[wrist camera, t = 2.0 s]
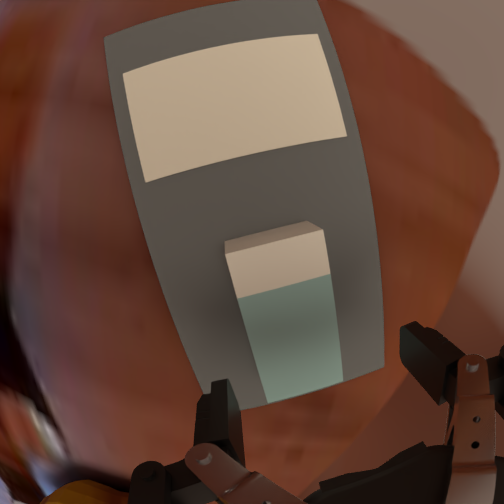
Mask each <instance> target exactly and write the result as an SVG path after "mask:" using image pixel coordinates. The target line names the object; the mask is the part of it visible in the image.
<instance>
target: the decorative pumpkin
mask: <svg viewBox="0 0 504 504" xmlns="http://www.w3.org/2000/svg"><path fill="white" fill-rule="evenodd" d="M128 496H129V493H127V492H120V491H118V490H115V489H113V488H111V487H109V486H106V485H103V484H100V483H97V482H95V481H92V480H89V479H87V480H79V481H74V482H71V483H68V484H66V485H64V486H62V487H60V488H59V489H57V490H55V491H54V492H53V493H52V494H50V495H49V496H47V497H45V498H44V499H43V500H42V502H41V503H40V504H127V503H128Z"/></svg>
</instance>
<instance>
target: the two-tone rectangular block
mask: <svg viewBox="0 0 504 504" xmlns="http://www.w3.org/2000/svg"><path fill="white" fill-rule="evenodd" d="M225 256H226V260H227V264H228V267H229V271H230V275H231V278H232V282H233V285H234V289H235V293H236V296H237V300H238V303H239V307H240V310H241V314H242V317H243V321H244V324H245V328H246V331H247V335H248V338H249V342H250V345H251V349H252V352H253V355H254V359H255V362H256V365H257V369H258V372H259V376H260V379H261V382H262V385H263V389H264V392H265V395H266V399H267V402H268V403H271V402H275V401H278V400H282V399H286V398H290V397H293V396H297V395H301V394H304V393H307V392H311V391H314V390H317V389H321V388H324V387H327V386H330V385H333V384H336V383H339V382H342V381H343V372H342V361H341V351H340V342H339V333H338V324H337V316H336V309H335V301H334V294H333V287H332V280H331V274H330V267H329V261H328V255H327V249H326V243H325V237H324V232H323V229H321V228H320V227H318V226H316V225H314V224H312V223H310V222H309V221H303V222H299V223H295V224H291V225H287V226H283V227H279V228H275V229H271V230H267V231H263V232H259V233H255V234H251V235H247V236H243V237H239V238H235V239H231V240H227V241H225Z"/></svg>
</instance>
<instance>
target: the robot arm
mask: <svg viewBox="0 0 504 504" xmlns="http://www.w3.org/2000/svg"><path fill="white" fill-rule="evenodd" d="M400 358H401V361H402V363H403V365H404V366H405V367H406V368H407V369H408V371H409V372H410V373H411V374H412V375H413V376H414V377H415V379H416V380H417V381H418V382H419V383H420V384H421V386H422V387H423V388H424V389H425V390H426V391H427V393H428V394H429V395H430V396H431V397H432V398H433V400H434V401H435V402H436V403H437V404H438V405H441V404H443V403H444V402H446V401H447V402H448V403H449V407H448V414H447V423H446V430H445V437H444V442H443V445H434V446H429V447H426V445H425V444H424V442H423V441H422V442H421V443H419V444H416V445H414V446H412V447H410V448H408V449H406V450H404V451H402V452H400V453H398V454H397V455H395V456H394V457H393V458H391V459H390V460H389V461H387V462H386V463H384V464H383V465H382V466H380V467H379V468H376V469H373V470H367V471H361V472H355V473H347V474H344V475H341V476H338V477H335V478H331V479H328V480H325V481H321V482H319V485H320V489H319V490H317V491H315V492H313V493H312V494H310V495H309V496H308V497H306V498H305V499H304V500H303V501H302V500H300V499H299V498H297V497H296V496H294V495H292V494H291V493H289V492H287V491H286V490H284V489H283V488H281V487H280V486H278V485H276V484H275V483H273V482H272V481H270V480H269V479H267V478H266V477H265V476H263V475H262V474H260V473H258V472H256V471H254V472H253V473H252V472H250V471H248V470H247V469H246V467H245V456H244V445H243V433H242V422H241V412H240V408H239V404H238V401H237V399H236V396H235V394H234V391H233V388H232V386H231V383H230V381H229V379H228V378H227V379H222V380H217V381H212V382H211V393H209V394H203V395H202V396H201V398H200V399H199V401H198V403H197V410H196V412H197V413H196V421H195V433H194V445H193V447H192V448H191V449H190V450H189V451H188V452H187V453H186V455H185V458H184V459H183V460H181V461H179V462H176V463H173V464H170V465H167V466H163V465H162V464H161V463H159V462H156V461H147V462H144V463H141V464H140V465H138V466H137V467H136V468H135V469H134V471H133V473H132V477H131V483H130V490H129V496H128V503H127V504H207V503H209V502H212V501H216V502H217V503H218V504H504V457H500V456H495V410H496V411H497V412H498V413H499V415H500V416H501V417H502V418H503V419H504V345H503V346H502V347H501V349H500V354H499V356H495V357H492V358H489V359H485V358H484V357H482V356H480V355H477V354H468V355H466V354H465V353H463V352H462V351H461V350H460V349H459V348H457V347H456V346H455V345H454V344H453V343H451V342H450V341H448V339H447V338H445V337H443V335H442V334H440V333H439V332H438V331H437V330H434V329H432V328H429V327H426V328H424V327H423V326H421V325H420V324H419V323H418V322H416V321H414V322H411V323H409V324H406V325H404V326H402V327H401V328H400Z"/></svg>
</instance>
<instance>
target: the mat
mask: <svg viewBox="0 0 504 504" xmlns="http://www.w3.org/2000/svg"><path fill="white" fill-rule="evenodd" d="M104 46H105V54H106V62H107V69H108V76H109V83H110V89H111V95H112V101H113V107H114V112H115V117H116V123H117V128H118V133H119V137H120V142H121V147H122V151H123V156H124V160H125V164H126V169H127V173H128V177H129V181H130V185H131V189H132V193H133V196H134V200H135V204H136V207H137V211H138V215H139V218H140V222H141V225H142V229H143V232H144V235H145V239H146V242H147V245H148V248H149V252H150V255H151V258H152V261H153V264H154V267H155V270H156V273H157V276H158V279H159V282H160V285H161V288H162V291H163V294H164V296H165V299H166V302H167V305H168V307H169V310H170V313H171V316H172V318H173V321H174V324H175V326H176V329H177V331H178V334H179V336H180V339H181V341H182V344H183V346H184V349H185V351H186V354H187V356H188V359H189V361H190V363H191V366H192V368H193V371H194V373H195V375H196V377H197V380H198V382H199V384H200V387H201V389H202V391H203V393H204V394H209V393H211V382H212V381H217V380H222V379H227V378H228V379H229V381H230V383H231V386H232V388H233V391H234V394H235V396H236V399H237V401H238V404H239V408H240V410H245V409H249V408H254V407H258V406H263V405H267V404H271V403H275V402H279V401H283V400H286V399H290V398H294V397H297V396H301V395H304V394H308V393H311V392H314V391H318V390H321V389H324V388H327V387H330V386H333V385H336V384H339V383H342V382H345V381H348V380H351V379H354V378H356V377H359V376H362V375H365V374H367V373H370V372H372V371H375V370H378V369H380V368H383V367H384V318H383V297H382V282H381V270H380V259H379V249H378V240H377V232H376V224H375V217H374V210H373V204H372V197H371V191H370V185H369V180H368V174H367V169H366V164H365V159H364V154H363V149H362V145H361V140H360V136H359V131H358V127H357V123H356V119H355V115H354V111H353V107H352V103H351V100H350V96H349V92H348V89H347V85H346V82H345V78H344V75H343V72H342V69H341V65H340V62H339V59H338V56H337V53H336V50H335V47H334V44H333V41H332V39H331V36H330V33H329V30H328V27H327V25H326V22H325V20H324V17H323V14H322V12H321V9H320V7H319V4H318V2H317V0H240V1H233V2H227V3H221V4H215V5H210V6H205V7H200V8H196V9H191V10H187V11H183V12H179V13H175V14H171V15H168V16H164V17H161V18H157V19H154V20H151V21H148V22H144V23H141V24H138V25H135V26H133V27H130V28H127V29H124V30H122V31H119V32H116V33H114V34H111V35H109V36H106V37H104ZM303 221H309V222H310V223H312V224H314V225H316V226H318V227H320V228H321V229H323V232H324V237H325V243H326V249H327V255H328V261H329V267H330V274H331V280H332V287H333V294H334V301H335V309H336V316H337V324H338V333H339V342H340V351H341V361H342V372H343V381H342V382H339V383H336V384H333V385H330V386H327V387H324V388H321V389H317V390H314V391H311V392H307V393H304V394H301V395H297V396H293V397H290V398H286V399H282V400H278V401H275V402H271V403H268V402H267V399H266V395H265V392H264V389H263V385H262V382H261V379H260V376H259V372H258V369H257V365H256V362H255V359H254V355H253V352H252V349H251V345H250V342H249V338H248V335H247V331H246V328H245V324H244V321H243V317H242V314H241V310H240V307H239V303H238V300H237V296H236V293H235V289H234V285H233V282H232V278H231V275H230V271H229V267H228V264H227V260H226V256H225V241H227V240H231V239H235V238H239V237H243V236H247V235H251V234H255V233H259V232H263V231H267V230H271V229H275V228H279V227H283V226H287V225H291V224H295V223H299V222H303Z"/></svg>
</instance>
